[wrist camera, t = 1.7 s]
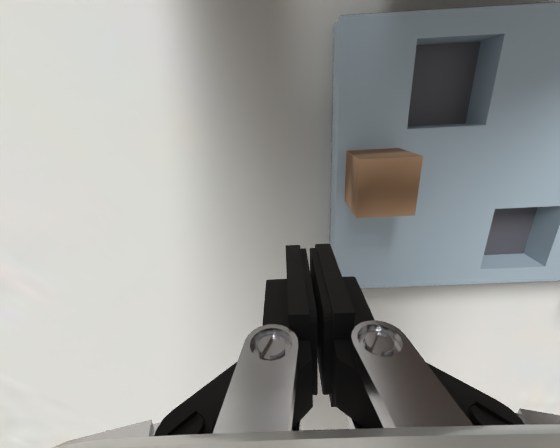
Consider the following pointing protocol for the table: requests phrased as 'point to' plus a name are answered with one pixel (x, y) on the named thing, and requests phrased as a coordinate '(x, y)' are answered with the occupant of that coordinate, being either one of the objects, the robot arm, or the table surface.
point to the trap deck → (452, 143)
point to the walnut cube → (382, 182)
